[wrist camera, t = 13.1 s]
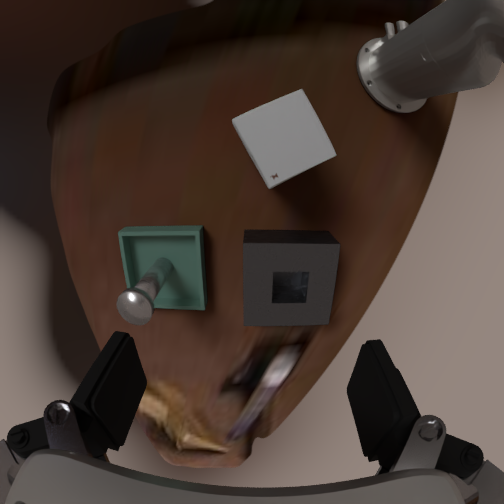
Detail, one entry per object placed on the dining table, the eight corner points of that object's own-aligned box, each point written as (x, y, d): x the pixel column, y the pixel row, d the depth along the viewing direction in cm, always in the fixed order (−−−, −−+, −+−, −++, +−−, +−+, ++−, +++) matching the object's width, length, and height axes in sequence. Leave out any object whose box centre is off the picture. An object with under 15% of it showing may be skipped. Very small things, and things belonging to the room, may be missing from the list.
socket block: (244, 229, 38) (243, 243, 33) (328, 230, 38) (340, 244, 33) (244, 303, 42) (243, 325, 37) (319, 303, 42) (328, 324, 37)
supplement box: (311, 156, 35) (339, 158, 23) (262, 179, 36) (267, 192, 24) (286, 109, 32) (303, 86, 21) (237, 132, 34) (229, 120, 22)
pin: (148, 252, 39) (113, 291, 27) (176, 253, 39) (147, 293, 27) (152, 279, 40) (121, 323, 29) (178, 280, 40) (154, 326, 29)
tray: (126, 226, 38) (118, 232, 35) (202, 225, 38) (199, 231, 35) (137, 297, 42) (131, 306, 40) (207, 300, 42) (204, 310, 40)
